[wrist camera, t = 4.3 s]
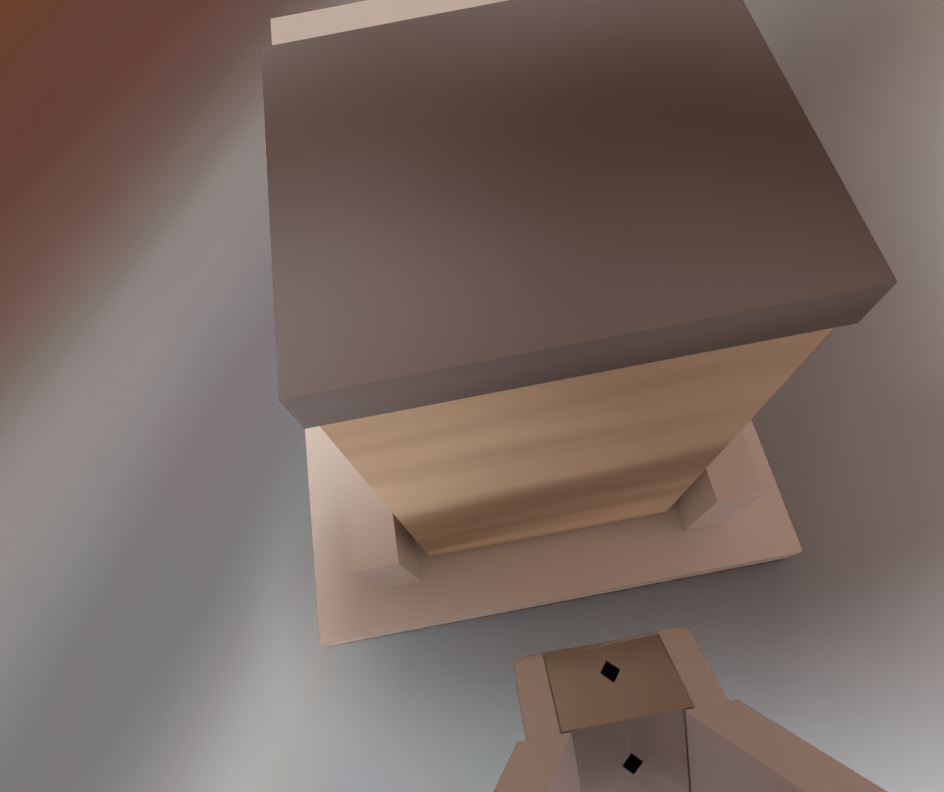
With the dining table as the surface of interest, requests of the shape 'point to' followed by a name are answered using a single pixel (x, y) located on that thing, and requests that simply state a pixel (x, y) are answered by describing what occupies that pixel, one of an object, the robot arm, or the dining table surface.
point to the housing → (528, 560)
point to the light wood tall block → (547, 254)
